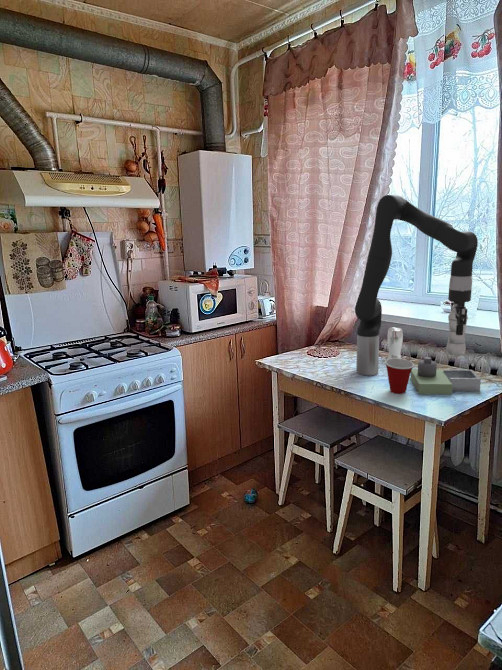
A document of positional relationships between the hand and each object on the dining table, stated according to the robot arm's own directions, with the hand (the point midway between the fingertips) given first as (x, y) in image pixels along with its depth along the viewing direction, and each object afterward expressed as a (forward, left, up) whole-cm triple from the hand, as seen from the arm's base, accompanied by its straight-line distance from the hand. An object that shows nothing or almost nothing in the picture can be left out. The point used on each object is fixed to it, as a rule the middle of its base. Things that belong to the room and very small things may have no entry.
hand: (457, 332), depth 171 cm
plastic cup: (-20, -1, -23) cm, 31 cm away
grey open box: (+4, +6, -23) cm, 24 cm away
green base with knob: (-7, +6, -23) cm, 25 cm away
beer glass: (-16, +41, -23) cm, 50 cm away
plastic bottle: (0, 0, -9) cm, 9 cm away
